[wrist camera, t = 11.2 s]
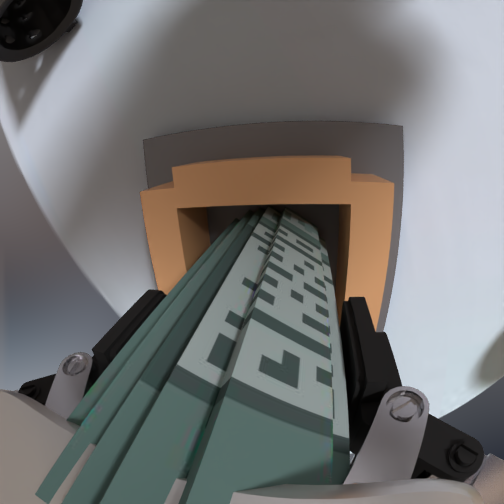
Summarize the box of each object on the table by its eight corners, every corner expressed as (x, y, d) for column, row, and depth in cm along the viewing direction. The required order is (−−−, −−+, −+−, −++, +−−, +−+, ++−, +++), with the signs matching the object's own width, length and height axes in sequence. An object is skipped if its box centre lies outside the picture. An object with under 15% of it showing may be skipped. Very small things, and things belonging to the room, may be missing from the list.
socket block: (395, 127, 14) (431, 121, 9) (375, 342, 19) (387, 389, 15) (152, 139, 17) (104, 142, 12) (185, 334, 22) (160, 375, 18)
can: (206, 271, 17) (53, 492, 3) (253, 187, 14) (-15, 461, 1) (288, 319, 17) (240, 567, 4) (346, 245, 15) (407, 567, 1)
